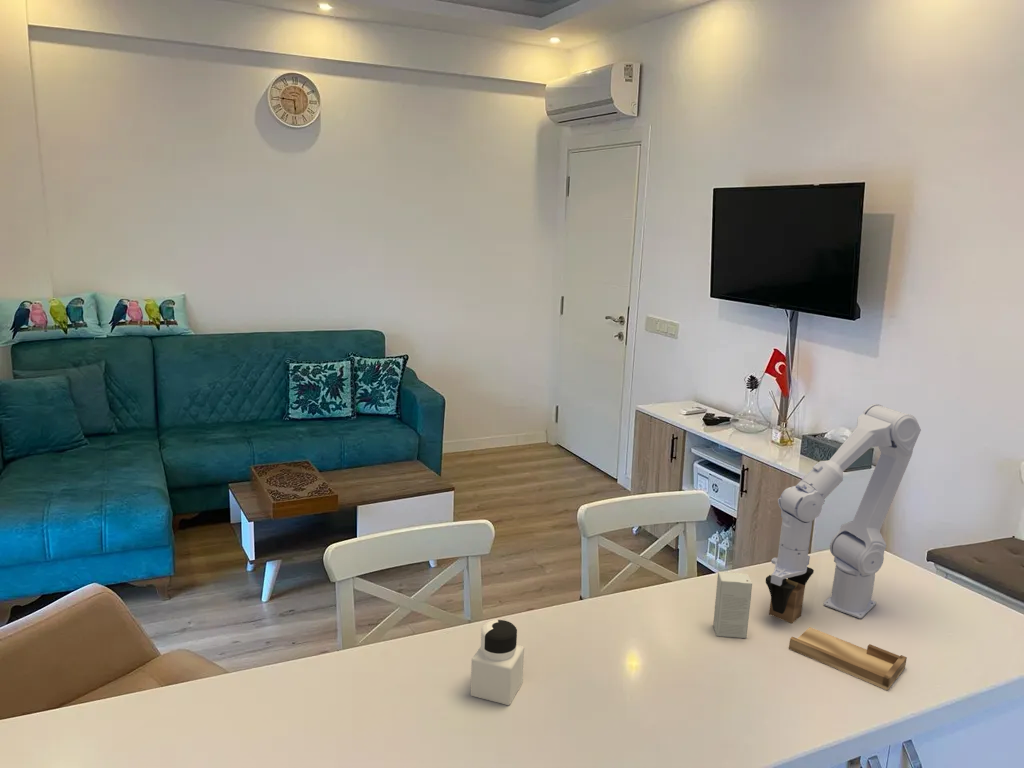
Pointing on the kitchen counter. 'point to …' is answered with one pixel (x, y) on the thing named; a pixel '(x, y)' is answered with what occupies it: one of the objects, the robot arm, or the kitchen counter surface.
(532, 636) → the kitchen counter surface
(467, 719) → the kitchen counter surface
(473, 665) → the medicine bottle
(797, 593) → the cabinet block
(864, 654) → the cleat board
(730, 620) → the skincare box
